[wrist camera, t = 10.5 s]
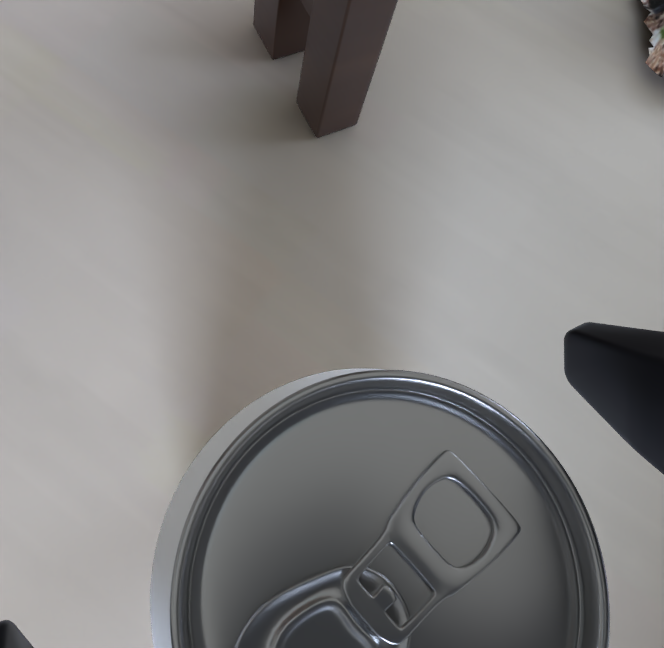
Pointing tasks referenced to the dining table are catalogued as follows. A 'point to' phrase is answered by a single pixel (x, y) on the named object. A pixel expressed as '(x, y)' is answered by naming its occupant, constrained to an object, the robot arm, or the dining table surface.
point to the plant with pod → (655, 34)
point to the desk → (327, 52)
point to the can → (377, 526)
